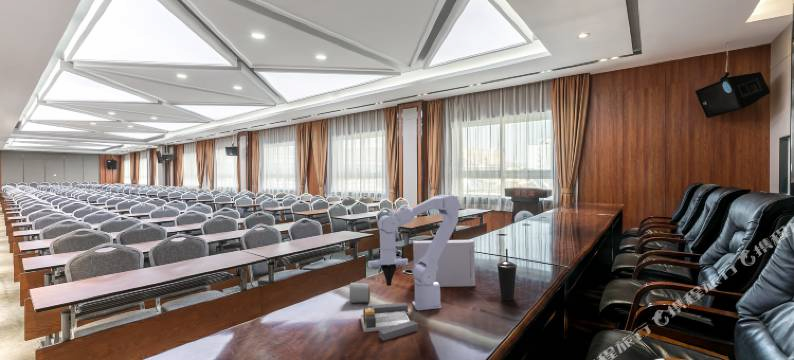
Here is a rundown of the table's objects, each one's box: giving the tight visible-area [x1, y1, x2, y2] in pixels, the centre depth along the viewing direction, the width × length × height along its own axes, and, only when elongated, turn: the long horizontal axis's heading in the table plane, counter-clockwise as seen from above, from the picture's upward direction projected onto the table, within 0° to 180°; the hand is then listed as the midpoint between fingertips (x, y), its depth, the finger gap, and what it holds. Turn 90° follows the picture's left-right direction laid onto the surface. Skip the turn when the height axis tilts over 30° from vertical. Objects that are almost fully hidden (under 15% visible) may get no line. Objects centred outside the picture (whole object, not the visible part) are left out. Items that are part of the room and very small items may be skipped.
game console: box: [412, 239, 476, 288], centre depth 159 cm, size 6×27×20 cm, turn 89°
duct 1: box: [371, 302, 409, 314], centre depth 130 cm, size 13×3×3 cm, turn 99°
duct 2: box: [378, 320, 419, 342], centre depth 113 cm, size 13×3×2 cm, turn 121°
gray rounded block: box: [348, 282, 371, 304], centre depth 142 cm, size 11×8×8 cm
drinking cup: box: [496, 248, 518, 302], centre depth 140 cm, size 8×8×20 cm
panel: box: [360, 305, 411, 333], centre depth 121 cm, size 16×11×4 cm
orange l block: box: [365, 308, 375, 321], centre depth 120 cm, size 3×3×4 cm
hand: (388, 285), depth 130 cm, fingers closed
